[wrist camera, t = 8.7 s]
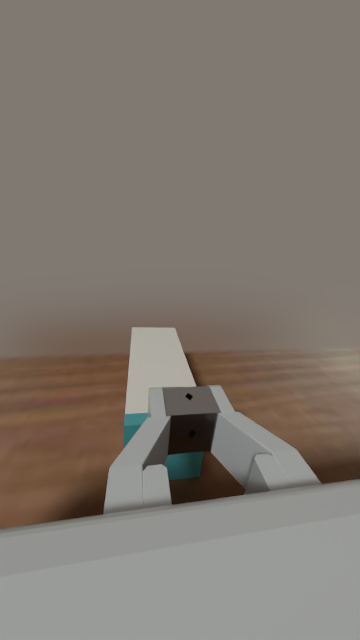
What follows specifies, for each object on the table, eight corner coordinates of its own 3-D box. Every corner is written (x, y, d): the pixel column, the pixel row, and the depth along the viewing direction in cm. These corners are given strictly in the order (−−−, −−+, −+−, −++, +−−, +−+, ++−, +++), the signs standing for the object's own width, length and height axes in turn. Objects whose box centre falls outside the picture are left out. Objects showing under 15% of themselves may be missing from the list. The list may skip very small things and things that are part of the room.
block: (124, 425, 11) (132, 327, 23) (124, 485, 13) (131, 364, 25) (208, 419, 12) (174, 327, 24) (199, 477, 14) (171, 363, 26)
